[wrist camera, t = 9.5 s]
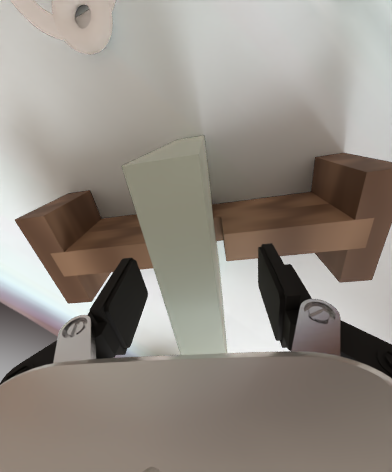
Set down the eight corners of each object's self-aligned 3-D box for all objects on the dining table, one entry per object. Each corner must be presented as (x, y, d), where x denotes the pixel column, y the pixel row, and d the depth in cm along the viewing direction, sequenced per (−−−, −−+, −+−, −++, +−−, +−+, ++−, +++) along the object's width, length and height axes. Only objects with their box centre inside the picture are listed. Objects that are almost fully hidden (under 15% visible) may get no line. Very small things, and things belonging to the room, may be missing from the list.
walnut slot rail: (344, 152, 16) (411, 166, 11) (328, 238, 20) (372, 280, 15) (68, 193, 19) (14, 219, 14) (100, 262, 23) (68, 303, 17)
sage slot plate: (204, 135, 16) (198, 154, 5) (220, 272, 22) (231, 401, 12) (177, 139, 16) (121, 165, 6) (200, 274, 23) (195, 402, 12)
